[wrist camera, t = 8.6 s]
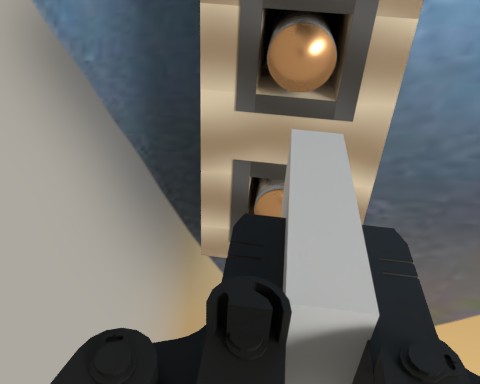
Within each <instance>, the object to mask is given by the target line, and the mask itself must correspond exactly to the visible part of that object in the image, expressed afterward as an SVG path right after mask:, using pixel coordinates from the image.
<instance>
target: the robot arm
mask: <svg viewBox="0 0 480 384" xmlns="http://www.w3.org/2000/svg"><path fill="white" fill-rule="evenodd" d="M417 276H418V275H417V272H416V269H415V266H414V264H413V260H412V257H411V254H410V250H409V247H408V244H407V243H406V242H405V241H404V240H403V239H402V237H401V236H400V235H399V234H398V233H397V232H396V231H395V229H393V228H384V227H375V226H366V225H361V220H360V215H359V210H358V205H357V200H356V195H355V190H354V185H353V180H352V175H351V170H350V165H349V160H348V155H347V150H346V145H345V140H344V135H343V134H338V133H328V132H318V131H308V130H297V129H292V130H291V138H290V146H289V153H288V161H287V168H286V176H285V184H284V191H283V199H282V208H281V217H274V216H265V215H256V214H247V213H245V214H244V215H243V216H242V217H241V218H240V219H239V220H238V221H237V222H236V224H235V225H234V226H233V231H232V236H231V240H230V245H229V250H228V255H227V259H226V264H225V269H224V274H223V278H222V282H221V283H220V284H219V285H218V286H216V287H215V288H214V289H213V290H212V292H211V294H210V296H209V298H208V300H207V303H206V304H207V305H206V308H207V309H206V325H205V326H204V327H203V328H201V329H200V330H199V331H197V332H195V333H193V334H191V335H189V336H186V337H183V338H179V339H174V340H168V341H162V342H156V343H152V342H151V340H150V339H149V337H147V336H145V335H144V334H142V333H141V332H139V331H137V330H132V329H126V328H118V329H112V330H106V331H104V332H102V333H100V334H98V335H96V336H94V337H92V338H90V339H89V340H88V341H87V342H86V343H84V344H83V345H82V346H81V347H80V348H79V349H78V350H77V351H76V353H75V354H74V355H73V356H72V358H71V359H70V360H69V361H68V362H67V364H66V365H65V366H64V367H63V369H62V370H61V371H60V372H59V374H58V375H57V376H56V377H55V379H54V380H53V381H52V382H51V384H480V376H478V375H476V374H474V373H472V372H470V371H469V370H467V369H466V368H465V367H464V365H463V363H462V362H461V360H460V358H459V357H458V355H457V354H456V353H455V352H454V351H453V350H452V349H451V348H450V347H449V346H448V345H447V344H446V343H445V342H443V341H441V340H439V338H438V335H437V333H436V330H435V327H434V324H433V321H432V318H431V315H430V312H429V309H428V306H427V303H426V299H425V296H424V293H423V290H422V287H421V284H420V281H419V279H417Z"/></svg>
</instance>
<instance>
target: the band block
mask: <svg viewBox="0 0 480 384" xmlns="http://www.w3.org/2000/svg"><path fill="white" fill-rule="evenodd" d="M423 1H424V0H200V81H201V255H207V256H215V257H224V258H227V255H228V250H229V245H230V240H231V236H232V231H233V226H234V225H235V224H236V222H237V221H238V220H239V219H240V218H241V217H242V216H243V215H244V214H245V213H247V214H254V206H255V199H256V193H257V186H258V183H254V177H258V178H267V179H277V180H285V176H286V168H287V161H288V153H289V146H290V138H291V130H292V129H297V130H308V131H318V132H328V133H338V134H343V135H344V140H345V145H346V150H347V155H348V160H349V165H350V170H351V175H352V180H353V185H354V190H355V195H356V200H357V205H358V210H359V215H360V220H361V225H363V222H364V218H365V214H366V210H367V207H368V203H369V199H370V196H371V192H372V188H373V185H374V181H375V177H376V174H377V170H378V166H379V163H380V159H381V155H382V152H383V148H384V144H385V141H386V137H387V133H388V130H389V126H390V122H391V119H392V115H393V111H394V108H395V104H396V100H397V97H398V93H399V89H400V86H401V82H402V78H403V75H404V71H405V67H406V64H407V60H408V56H409V53H410V49H411V45H412V42H413V38H414V34H415V31H416V27H417V23H418V20H419V16H420V12H421V9H422V5H423ZM268 8H271V9H285V10H298V11H311V12H325V13H338V14H339V15H338V21H337V27H336V33H335V39H334V42H335V45H336V50H337V60H336V65H335V68H334V70H333V72H332V74H331V76H330V77H329V79H328V80H327V81H326V82H325V83H324V84H323V85H321V86H320V87H318V88H316V89H314V90H312V91H308V92H302V93H301V92H292V91H289V90H286V89H284V88H283V87H281V86H280V85H279V84H278V83H277V82H276V81H275V80H274V79H273V77H272V76H271V74H270V72H269V69H268V65H267V62H264V51H265V39H266V26H267V14H268Z"/></svg>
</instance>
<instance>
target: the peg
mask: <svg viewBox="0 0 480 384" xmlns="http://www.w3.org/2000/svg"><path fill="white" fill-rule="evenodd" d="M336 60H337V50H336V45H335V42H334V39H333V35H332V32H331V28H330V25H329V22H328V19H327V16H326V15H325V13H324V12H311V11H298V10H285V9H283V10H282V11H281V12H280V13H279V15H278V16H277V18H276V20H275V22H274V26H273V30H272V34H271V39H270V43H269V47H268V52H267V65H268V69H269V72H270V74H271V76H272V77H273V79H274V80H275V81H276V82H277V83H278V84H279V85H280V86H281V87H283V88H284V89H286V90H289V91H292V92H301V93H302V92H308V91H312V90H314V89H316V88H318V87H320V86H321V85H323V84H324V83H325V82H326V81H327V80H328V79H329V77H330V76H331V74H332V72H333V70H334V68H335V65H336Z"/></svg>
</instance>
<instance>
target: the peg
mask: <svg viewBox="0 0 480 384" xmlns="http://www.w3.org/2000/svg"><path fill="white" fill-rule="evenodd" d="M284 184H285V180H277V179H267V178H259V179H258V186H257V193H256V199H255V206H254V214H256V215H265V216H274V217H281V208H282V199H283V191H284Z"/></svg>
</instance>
